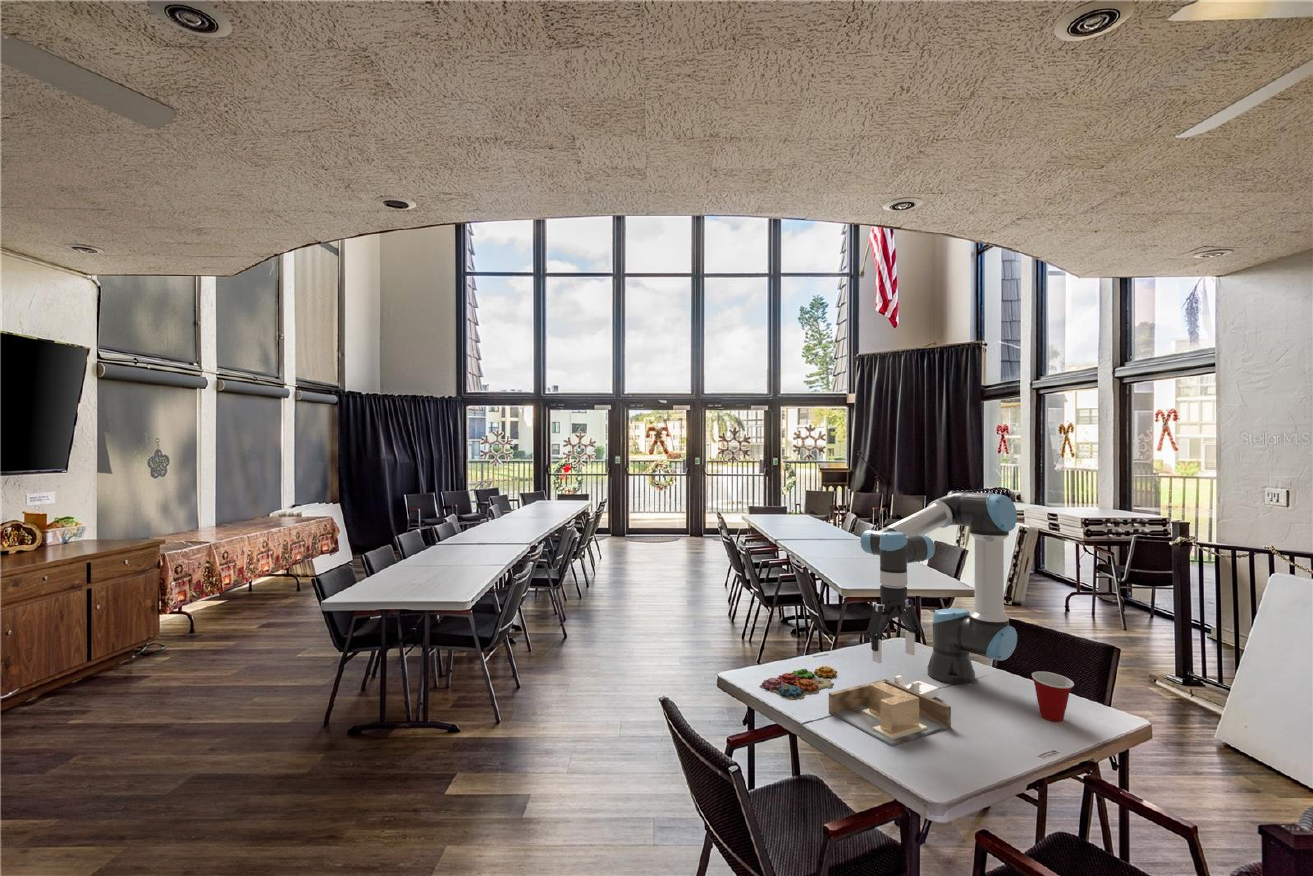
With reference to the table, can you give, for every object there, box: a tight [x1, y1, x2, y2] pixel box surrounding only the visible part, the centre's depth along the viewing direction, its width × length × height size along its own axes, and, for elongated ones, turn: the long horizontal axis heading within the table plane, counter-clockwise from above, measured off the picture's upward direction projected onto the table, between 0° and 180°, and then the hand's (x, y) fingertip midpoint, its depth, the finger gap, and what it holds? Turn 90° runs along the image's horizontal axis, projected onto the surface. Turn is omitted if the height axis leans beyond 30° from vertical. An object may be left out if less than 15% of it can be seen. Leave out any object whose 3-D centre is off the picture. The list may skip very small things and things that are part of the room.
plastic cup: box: [1031, 670, 1075, 723], centre depth 192 cm, size 11×11×12 cm
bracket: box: [894, 675, 940, 699], centre depth 206 cm, size 13×7×8 cm, turn 125°
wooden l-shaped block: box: [869, 682, 919, 734], centre depth 187 cm, size 14×11×8 cm
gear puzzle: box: [759, 665, 838, 701], centre depth 220 cm, size 31×16×4 cm, turn 127°
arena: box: [828, 678, 952, 747], centre depth 191 cm, size 24×24×6 cm
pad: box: [862, 708, 927, 740], centre depth 187 cm, size 14×17×1 cm
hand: (893, 658), depth 189 cm, fingers open, 13 cm apart
